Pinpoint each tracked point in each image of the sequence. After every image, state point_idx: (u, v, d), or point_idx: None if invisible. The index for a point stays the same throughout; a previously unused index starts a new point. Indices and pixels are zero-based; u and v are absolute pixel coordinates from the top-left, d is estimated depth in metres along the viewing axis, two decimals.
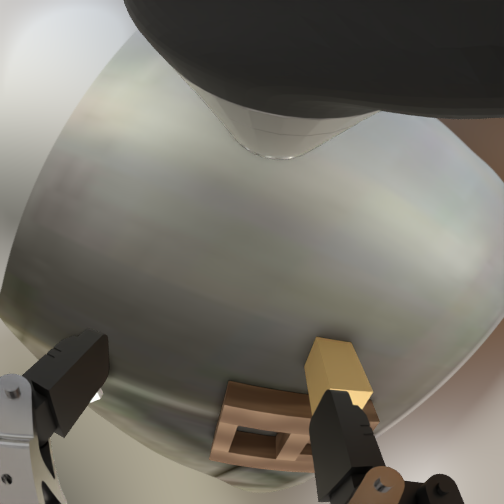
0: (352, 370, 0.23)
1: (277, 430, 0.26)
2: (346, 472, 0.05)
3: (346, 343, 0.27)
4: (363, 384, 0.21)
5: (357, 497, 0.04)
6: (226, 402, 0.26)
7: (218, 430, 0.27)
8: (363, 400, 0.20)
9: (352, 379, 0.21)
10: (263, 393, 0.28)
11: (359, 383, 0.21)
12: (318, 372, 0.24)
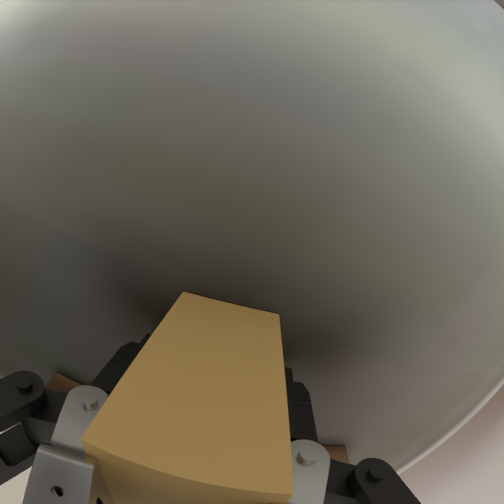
0: (238, 390, 0.06)
1: None
2: None
3: (263, 315, 0.11)
4: (258, 454, 0.04)
5: None
6: None
7: None
8: None
9: (213, 428, 0.05)
10: None
11: (240, 449, 0.05)
12: None
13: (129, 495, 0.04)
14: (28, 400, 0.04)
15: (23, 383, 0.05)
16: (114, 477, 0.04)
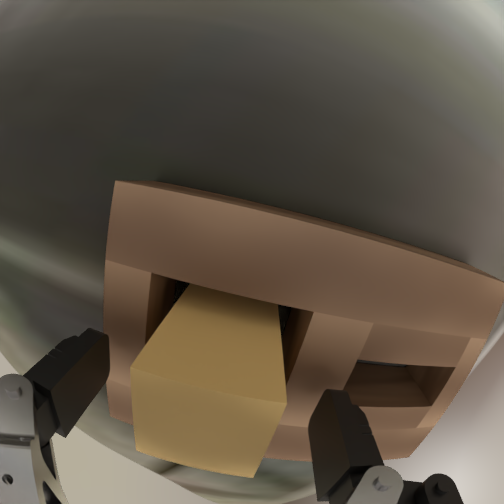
0: (245, 337, 0.09)
1: (271, 295, 0.10)
2: (345, 471, 0.05)
3: None
4: (260, 376, 0.07)
5: (356, 496, 0.04)
6: (124, 181, 0.10)
7: (106, 299, 0.10)
8: (259, 427, 0.06)
9: (227, 359, 0.08)
10: (231, 198, 0.12)
11: (247, 372, 0.07)
12: None
13: (159, 425, 0.07)
14: None
15: None
16: (150, 403, 0.06)
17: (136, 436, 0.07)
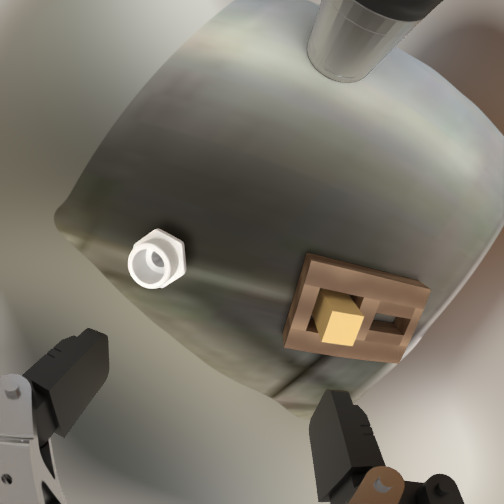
0: (348, 304, 0.32)
1: (353, 293, 0.33)
2: (346, 472, 0.05)
3: None
4: (356, 312, 0.31)
5: (357, 497, 0.04)
6: (312, 259, 0.33)
7: (301, 297, 0.34)
8: (357, 324, 0.30)
9: (348, 309, 0.31)
10: (337, 261, 0.35)
11: (353, 311, 0.31)
12: (323, 307, 0.33)
13: (333, 328, 0.30)
14: None
15: None
16: (334, 320, 0.30)
17: (324, 334, 0.30)
